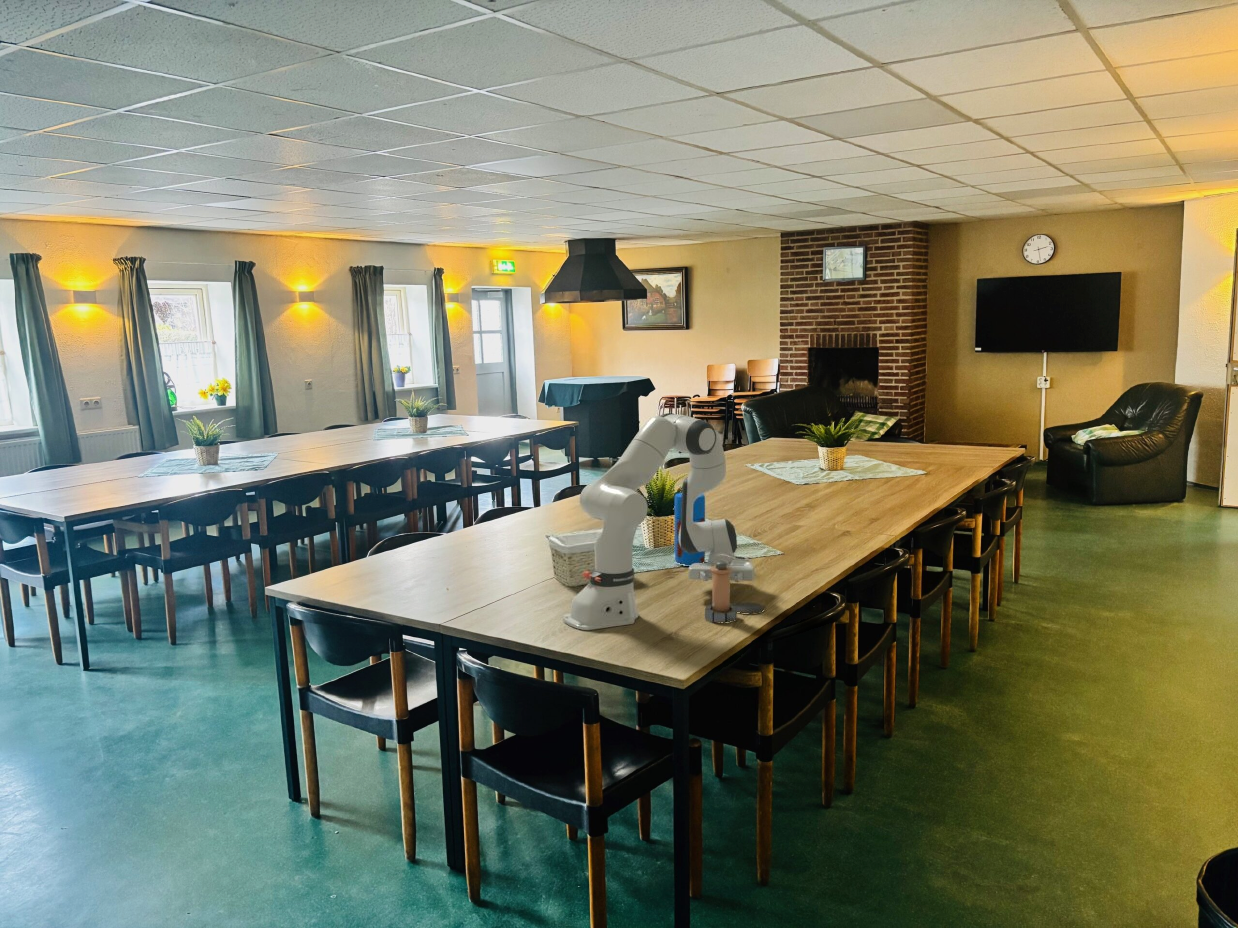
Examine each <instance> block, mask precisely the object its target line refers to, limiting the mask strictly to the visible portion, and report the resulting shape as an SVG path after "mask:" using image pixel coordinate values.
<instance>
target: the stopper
mask: <svg viewBox="0 0 1238 928" xmlns="http://www.w3.org/2000/svg"><path fill="white" fill-rule="evenodd" d="M711 572H712V580H711V582H712V585H711V586H712V587H711V588H712V601H711V602H712V603H711V605H712V610H713V611H716V612H726V611H730V605H731V580H730V573H731V572H732V568H731V567H728V566H727V563H726V562H716V566H713V567H711Z"/></svg>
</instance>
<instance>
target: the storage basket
mask: <svg viewBox="0 0 1238 928" xmlns="http://www.w3.org/2000/svg"><path fill="white" fill-rule="evenodd" d="M602 531H603V529H602V530H600V529H599V530H592V531H583V532H576V533H569V534H560V535H558V534H557V535H550V536H549V537H548V547H549V548H550V554H551V560H552V561H551V562H552V568H553V576H554V579H556V581H558V582H560V583H562V584H563V585H565V586H567V587H571V588H572V587H579V586H586V585H588V584H589V583H590V579H591V578H590V579H587V578H584V577H583V573H584V572H585V571H588V572H590V573H591V574H592V573H593V570H594V569H595V542H596V541H597V540H598V539H599V538H600V537H601V535H602Z"/></svg>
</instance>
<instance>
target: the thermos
mask: <svg viewBox="0 0 1238 928" xmlns="http://www.w3.org/2000/svg"><path fill="white" fill-rule="evenodd" d="M705 496H706V495H705V493H704V494H702V495H701V496H699V497H698V498H697V499H696V500H695V501H694V504H693V522H706V498H705ZM681 498H682V492H680V493H676V494H674V562H675V561H676V562H677V563H680V564H685V565H692V564H694V563H703V562H704V561H705V560H706V559H705V558H706V551H702V552H698V553H693V554H689V553H687V552H685V551H684V550H682V549H681V547H680V544H679V531H680V526H681ZM705 562H706V561H705ZM705 562H704V563H705Z"/></svg>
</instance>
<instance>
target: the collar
mask: <svg viewBox="0 0 1238 928" xmlns="http://www.w3.org/2000/svg"><path fill="white" fill-rule="evenodd" d="M732 605H733V604H730V611H726V612H716V611H713V610H712V604H709V605H706V606H705V609H704V619H706V620H705V621H707V620H709V621H711V622H710V623H712V622H720V623H721V622H723V623H725V622H730V621H734V620H736V619H738V613H737V607H735V606H732ZM709 621H708V622H709ZM736 621H737V620H736ZM720 623H719V624H720ZM725 624H726V623H725Z"/></svg>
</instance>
